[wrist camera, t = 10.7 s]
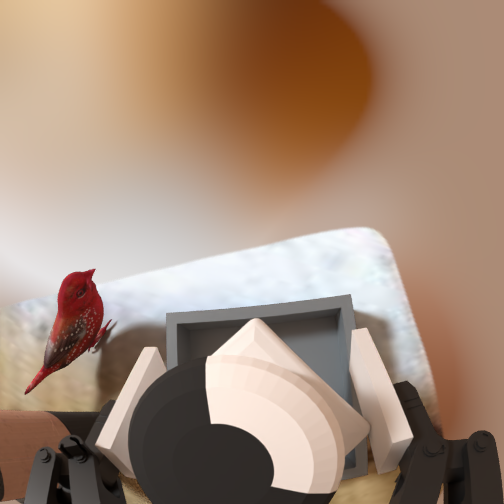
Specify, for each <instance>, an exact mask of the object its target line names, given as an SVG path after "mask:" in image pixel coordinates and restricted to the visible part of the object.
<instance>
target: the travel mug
mask: <svg viewBox="0 0 504 504" xmlns="http://www.w3.org/2000/svg"><path fill="white" fill-rule="evenodd" d="M98 416H99V412H53V411H13V410H0V502H2V501H9V500H14V499H20V498H25V495H26V490H27V486H28V481H29V477H30V473H31V469H32V465H33V461H34V458H35V455H36V453H37V451H38V450H39V449H40V448H42V447H47V446H48V447H51V448H52V449H53V450H54V451H55V452H56V453H62V452H61V451H60V450H59V449H58V445H59V443H60V441H61V440H62V439H63V438H64V437H65V436H68V435H76V436H79V437H80V438H81V439H82V441H83V442H84V443H85V441H86V439H87V437H88V435H89V433H90V431H91V429H92V427H93V425H94V423H96V419H97V417H98ZM58 487H59V483H58V484H57V488H58Z"/></svg>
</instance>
